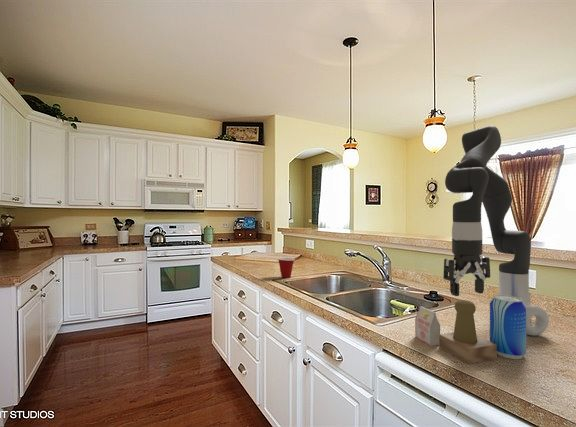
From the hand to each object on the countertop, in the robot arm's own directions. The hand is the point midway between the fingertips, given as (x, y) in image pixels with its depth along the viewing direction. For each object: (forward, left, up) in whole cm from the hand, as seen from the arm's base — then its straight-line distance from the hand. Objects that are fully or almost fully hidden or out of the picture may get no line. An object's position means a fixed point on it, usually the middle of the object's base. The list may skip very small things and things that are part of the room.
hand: (467, 294), depth 86 cm
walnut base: (0, 0, -17) cm, 17 cm away
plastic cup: (+24, -111, -17) cm, 115 cm away
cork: (+1, 0, -13) cm, 13 cm away
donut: (-31, -4, -17) cm, 36 cm away
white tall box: (+5, -10, -17) cm, 21 cm away
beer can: (-11, +3, -17) cm, 21 cm away
